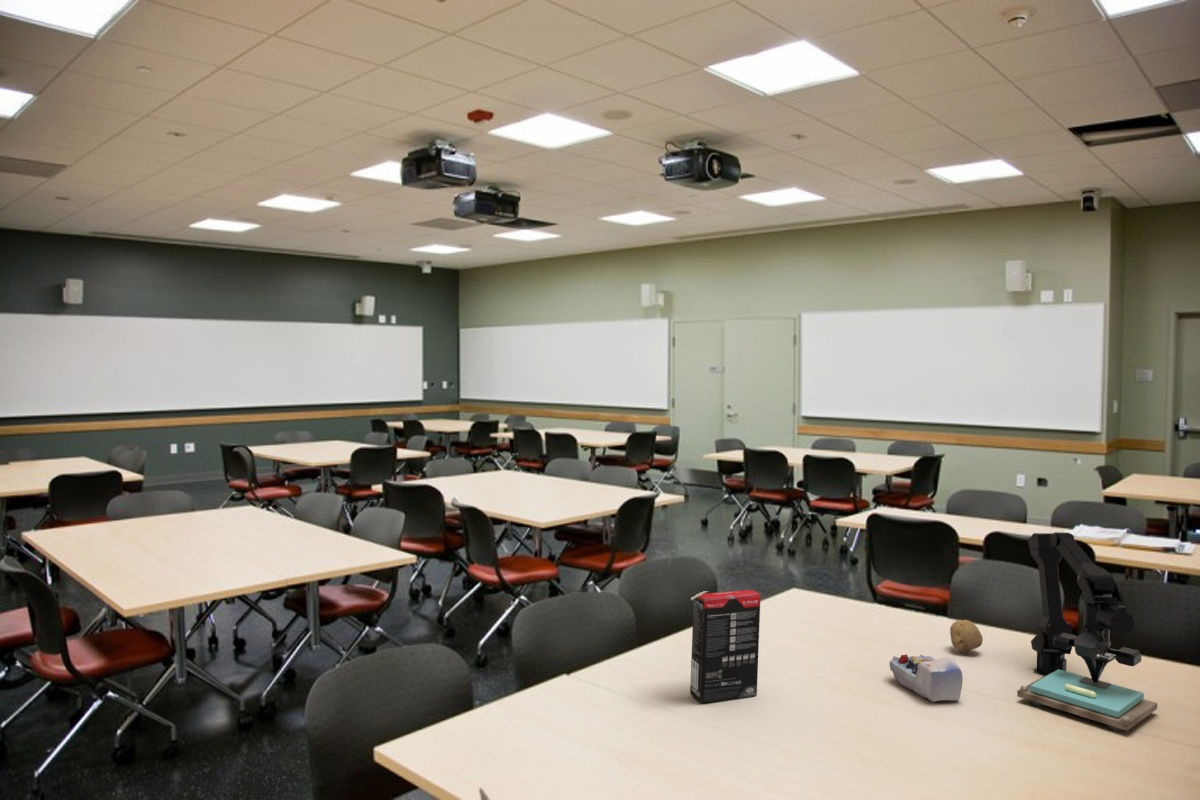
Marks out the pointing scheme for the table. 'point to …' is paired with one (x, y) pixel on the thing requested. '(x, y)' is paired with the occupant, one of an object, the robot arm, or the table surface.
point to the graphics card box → (725, 645)
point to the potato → (965, 636)
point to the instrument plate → (1099, 703)
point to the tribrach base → (1112, 723)
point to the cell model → (929, 676)
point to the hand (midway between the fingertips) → (1095, 681)
